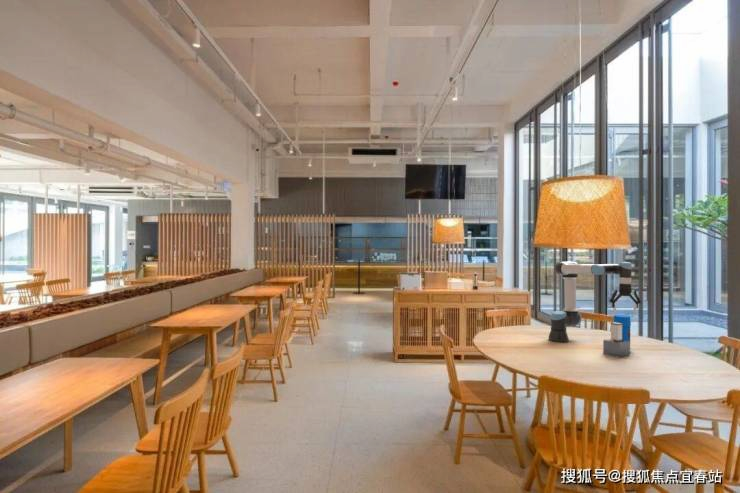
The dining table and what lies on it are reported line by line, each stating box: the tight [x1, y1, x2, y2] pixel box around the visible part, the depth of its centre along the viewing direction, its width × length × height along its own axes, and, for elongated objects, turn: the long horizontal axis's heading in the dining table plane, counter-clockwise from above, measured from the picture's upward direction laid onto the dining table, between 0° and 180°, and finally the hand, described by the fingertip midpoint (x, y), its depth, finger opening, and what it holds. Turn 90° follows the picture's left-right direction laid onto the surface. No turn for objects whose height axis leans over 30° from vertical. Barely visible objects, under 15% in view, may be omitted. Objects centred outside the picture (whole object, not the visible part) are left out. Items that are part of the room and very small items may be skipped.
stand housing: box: [602, 337, 631, 358], centre depth 298 cm, size 12×12×11 cm
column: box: [610, 321, 623, 342], centre depth 298 cm, size 5×6×22 cm
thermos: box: [613, 314, 631, 342], centre depth 313 cm, size 11×11×25 cm
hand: (624, 312), depth 302 cm, fingers open, 13 cm apart
